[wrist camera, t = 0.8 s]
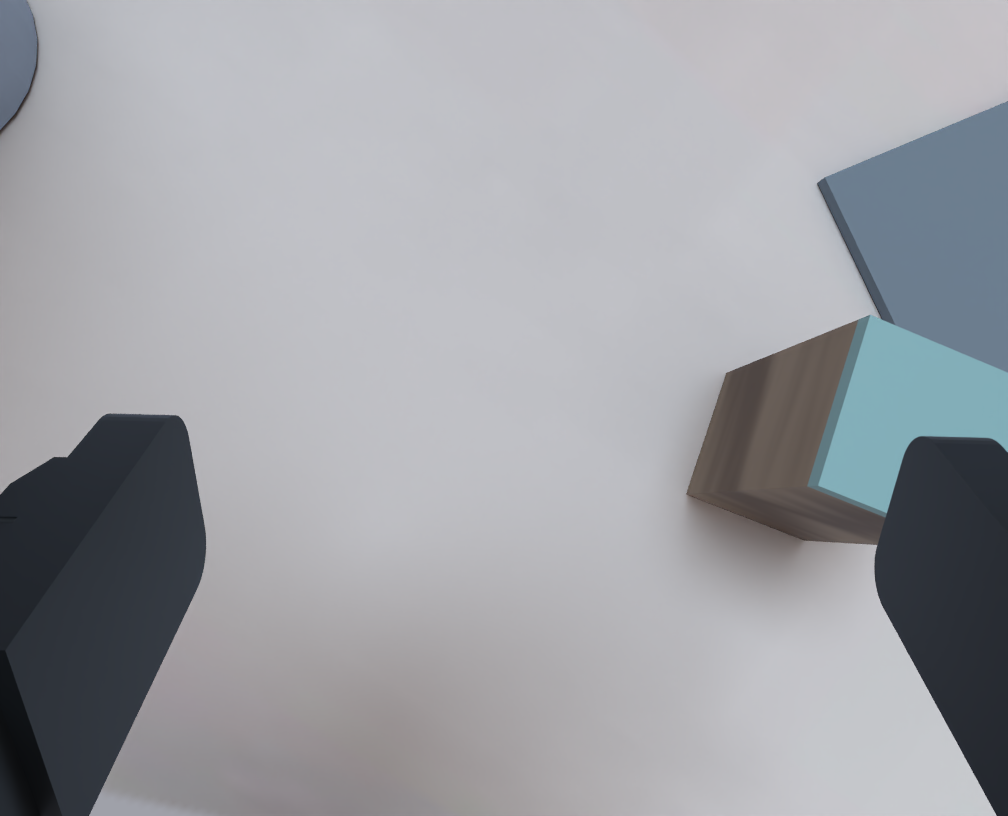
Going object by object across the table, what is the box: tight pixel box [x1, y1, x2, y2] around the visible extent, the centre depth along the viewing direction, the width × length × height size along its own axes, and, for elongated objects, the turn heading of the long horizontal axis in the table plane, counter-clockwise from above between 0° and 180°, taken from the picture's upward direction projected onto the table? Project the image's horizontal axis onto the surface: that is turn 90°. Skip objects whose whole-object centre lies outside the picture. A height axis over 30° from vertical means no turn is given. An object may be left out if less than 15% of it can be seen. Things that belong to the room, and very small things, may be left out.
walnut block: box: [686, 315, 1008, 545], centre depth 29 cm, size 5×5×10 cm
